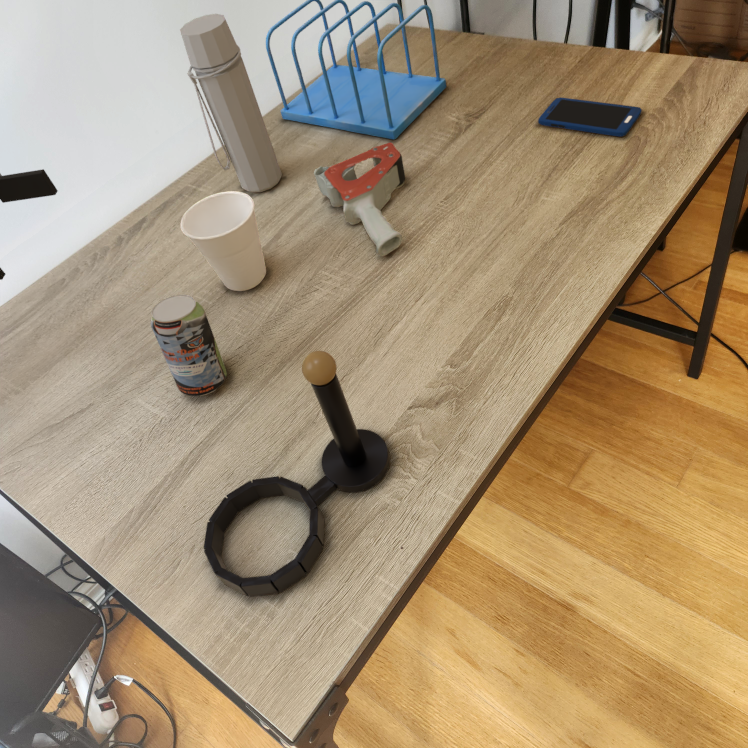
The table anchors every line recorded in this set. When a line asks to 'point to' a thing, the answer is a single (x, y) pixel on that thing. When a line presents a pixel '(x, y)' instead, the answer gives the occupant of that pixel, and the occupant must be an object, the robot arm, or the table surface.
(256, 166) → the water bottle
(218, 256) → the cup
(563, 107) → the cell phone
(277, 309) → the table surface
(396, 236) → the tape dispenser
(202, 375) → the beverage can
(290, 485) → the can holder
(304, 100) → the file sorter
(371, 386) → the table surface
